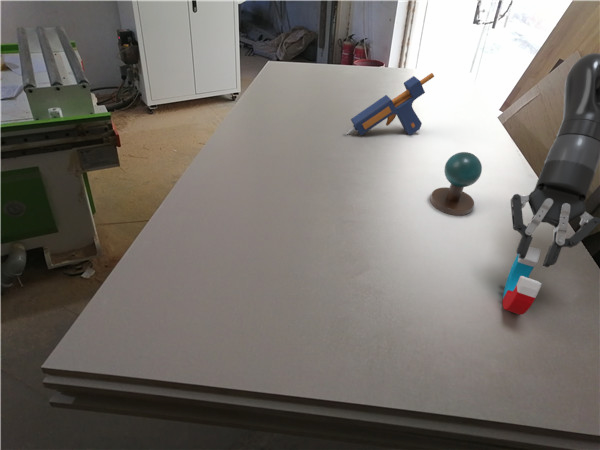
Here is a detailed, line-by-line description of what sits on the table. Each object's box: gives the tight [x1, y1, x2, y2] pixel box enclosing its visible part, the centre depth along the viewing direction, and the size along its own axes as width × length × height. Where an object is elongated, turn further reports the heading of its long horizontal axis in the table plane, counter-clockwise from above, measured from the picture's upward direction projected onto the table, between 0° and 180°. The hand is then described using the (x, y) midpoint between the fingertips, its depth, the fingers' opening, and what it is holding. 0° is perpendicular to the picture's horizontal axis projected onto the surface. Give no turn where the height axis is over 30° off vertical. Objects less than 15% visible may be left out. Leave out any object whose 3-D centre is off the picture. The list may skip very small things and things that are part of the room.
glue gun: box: [345, 72, 435, 136], centre depth 126 cm, size 6×31×15 cm
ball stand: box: [429, 151, 483, 216], centre depth 95 cm, size 10×10×14 cm
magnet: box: [502, 245, 542, 315], centre depth 71 cm, size 12×3×10 cm, turn 155°
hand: (534, 261), depth 67 cm, fingers open, 3 cm apart
